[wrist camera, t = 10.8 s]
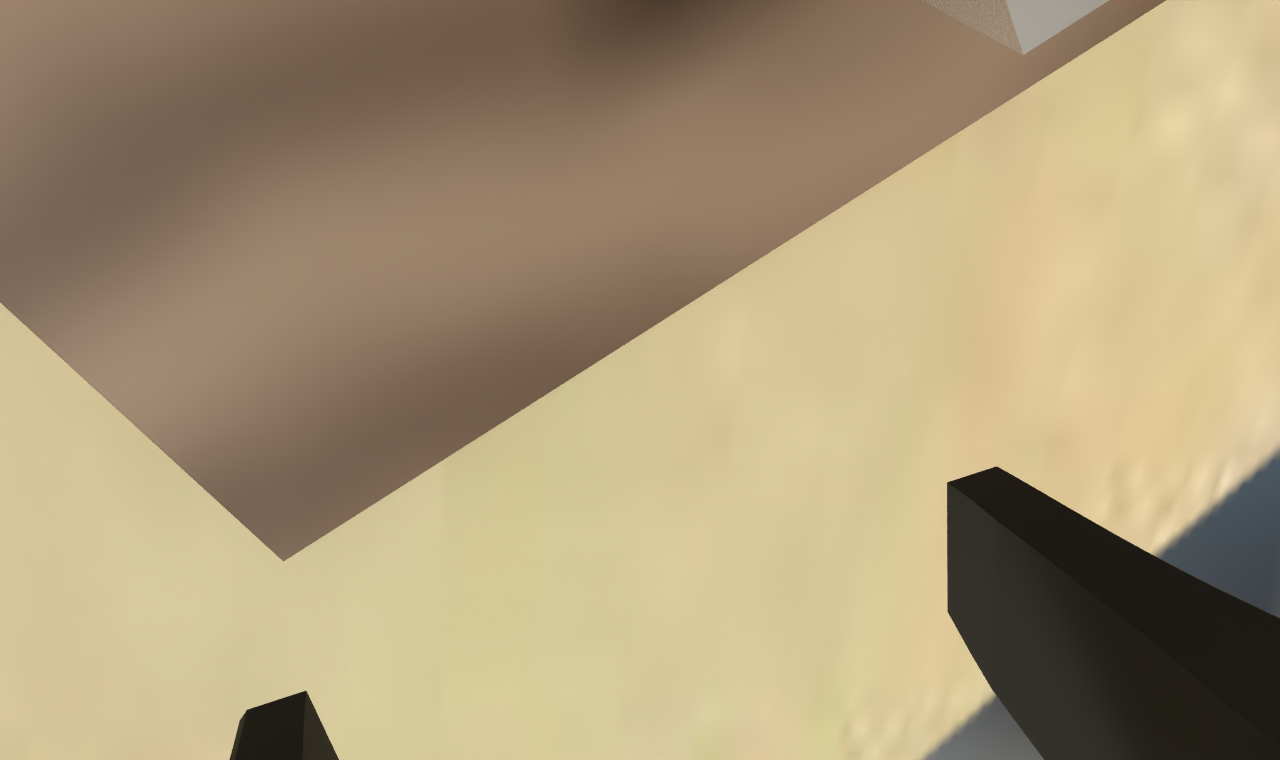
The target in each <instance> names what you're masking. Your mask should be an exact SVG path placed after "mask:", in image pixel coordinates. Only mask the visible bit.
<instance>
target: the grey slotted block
mask: <svg viewBox="0 0 1280 760" xmlns="http://www.w3.org/2000/svg"><path fill="white" fill-rule="evenodd" d="M922 1H924V2H926V3H928V4H930V5H931V6H933V7H935V8H937V9H939V10H941V11H943V12H944V13H946V14H948V15H950V16H952V17H954V18H956V19H957V20H959V21H961V22H963V23H965V24H967V25H969V26H970V27H972V28H974V29H976V30H978V31H980V32H982V33H983V34H985V35H987V36H989V37H991V38H993V39H995V40H996V41H998V42H1000V43H1002V44H1004V45H1006V46H1008V47H1009V48H1011V49H1013V50H1015V51H1017V52H1019V53H1021V54H1022V55H1024V54H1026V53H1027V52H1029V51H1031V50H1032V49H1034V48H1035V47H1037V46H1038V45H1040V44H1042V43H1043V42H1045V41H1046V40H1048V39H1049V38H1051V37H1052V36H1054V35H1056V34H1057V33H1059V32H1060V31H1062V30H1063V29H1065V28H1067V27H1068V26H1070V25H1071V24H1073V23H1074V22H1076V21H1078V20H1079V19H1081V18H1082V17H1084V16H1085V15H1087V14H1088V13H1090V12H1092V11H1093V10H1095V9H1096V8H1098V7H1099V6H1101V5H1103V4H1104V3H1106V2H1107V1H1109V0H922Z"/></svg>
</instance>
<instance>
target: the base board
mask: <svg viewBox="0 0 1280 760" xmlns="http://www.w3.org/2000/svg"><path fill="white" fill-rule="evenodd" d="M1164 1H1166V0H1109V1H1107V2H1106V3H1104V4H1103V5H1101V6H1099V7H1098V8H1096V9H1095V10H1093V11H1092V12H1090V13H1088V14H1087V15H1085V16H1084V17H1082V18H1081V19H1079V20H1078V21H1076V22H1074V23H1073V24H1071V25H1070V26H1068V27H1067V28H1065V29H1063V30H1062V31H1060V32H1059V33H1057V34H1056V35H1054V36H1052V37H1051V38H1049V39H1048V40H1046V41H1045V42H1043V43H1042V44H1040V45H1038V46H1037V47H1035V48H1034V49H1032V50H1031V51H1029V52H1027V53H1026V54H1024V55H1022V54H1021V53H1019V52H1017V51H1015V50H1013V49H1011V48H1009V47H1008V46H1006V45H1004V44H1002V43H1000V42H998V41H996V40H995V39H993V38H991V37H989V36H987V35H985V34H983V33H982V32H980V31H978V30H976V29H974V28H972V27H970V26H969V25H967V24H965V23H963V22H961V21H959V20H957V19H956V18H954V17H952V16H950V15H948V14H946V13H944V12H943V11H941V10H939V9H937V8H935V7H933V6H931V5H930V4H928V3H926V2H924V1H922V0H0V303H2V304H3V305H4V306H5V307H6V308H7V309H8V310H9V311H10V312H11V313H13V314H14V315H15V316H16V317H17V318H18V319H19V320H20V321H21V322H22V323H23V324H25V325H26V326H27V327H28V328H29V329H30V330H31V331H32V332H33V333H34V334H35V335H37V336H38V337H39V338H40V339H41V340H42V341H43V342H44V343H45V344H46V345H47V346H49V347H50V348H51V349H52V350H53V351H54V352H55V353H56V354H57V355H58V356H60V357H61V358H62V359H63V360H64V361H65V362H66V363H67V364H68V365H69V366H70V367H72V368H73V369H74V370H75V371H76V372H77V373H78V374H79V375H80V376H81V377H82V378H84V379H85V380H86V381H87V382H88V383H89V384H90V385H91V386H92V387H93V388H94V389H96V390H97V391H98V392H99V393H100V394H101V395H102V396H103V397H104V398H105V399H107V400H108V401H109V402H110V403H111V404H112V405H113V406H114V407H115V408H116V409H117V410H119V411H120V412H121V413H122V414H123V415H124V416H125V417H126V418H127V419H128V420H129V421H131V422H132V423H133V424H134V425H135V426H136V427H137V428H138V429H139V430H140V431H141V432H143V433H144V434H145V435H146V436H147V437H148V438H149V439H150V440H151V441H152V442H154V443H155V444H156V445H157V446H158V447H159V448H160V449H161V450H162V451H163V452H164V453H166V454H167V455H168V456H169V457H170V458H171V459H172V460H173V461H174V462H175V463H176V464H178V465H179V466H180V467H181V468H182V469H183V470H184V471H185V472H186V473H187V474H188V475H190V476H191V477H192V478H193V479H194V480H195V481H196V482H197V483H198V484H199V485H201V486H202V487H203V488H204V489H205V490H206V491H207V492H208V493H209V494H210V495H211V496H213V497H214V498H215V499H216V500H217V501H218V502H219V503H220V504H221V505H222V506H223V507H225V508H226V509H227V510H228V511H229V512H230V513H231V514H232V515H233V516H234V517H235V518H237V519H238V520H239V521H240V522H241V523H242V524H243V525H244V526H245V527H246V528H248V529H249V530H250V531H251V532H252V533H253V534H254V535H255V536H256V537H257V538H258V539H260V540H261V541H262V542H263V543H264V544H265V545H266V546H267V547H268V548H269V549H270V550H272V551H273V552H274V553H275V554H276V555H277V556H278V557H279V558H280V559H281V560H282V561H285V560H286V559H288V558H290V557H291V556H293V555H294V554H296V553H297V552H299V551H301V550H302V549H304V548H305V547H307V546H308V545H310V544H312V543H313V542H315V541H316V540H318V539H319V538H321V537H323V536H324V535H326V534H327V533H329V532H330V531H332V530H334V529H335V528H337V527H338V526H340V525H341V524H343V523H345V522H346V521H348V520H349V519H351V518H352V517H354V516H356V515H357V514H359V513H360V512H362V511H363V510H365V509H367V508H368V507H370V506H371V505H373V504H374V503H376V502H378V501H379V500H381V499H382V498H384V497H385V496H387V495H389V494H390V493H392V492H393V491H395V490H396V489H398V488H400V487H401V486H403V485H404V484H406V483H407V482H409V481H411V480H412V479H414V478H415V477H417V476H419V475H420V474H422V473H423V472H425V471H426V470H428V469H430V468H431V467H433V466H434V465H436V464H437V463H439V462H441V461H442V460H444V459H445V458H447V457H448V456H450V455H452V454H453V453H455V452H456V451H458V450H459V449H461V448H463V447H464V446H466V445H467V444H469V443H470V442H472V441H474V440H475V439H477V438H478V437H480V436H481V435H483V434H485V433H486V432H488V431H489V430H491V429H492V428H494V427H496V426H497V425H499V424H500V423H502V422H503V421H505V420H507V419H508V418H510V417H511V416H513V415H514V414H516V413H518V412H519V411H521V410H522V409H524V408H525V407H527V406H529V405H530V404H532V403H533V402H535V401H536V400H538V399H540V398H541V397H543V396H544V395H546V394H547V393H549V392H551V391H552V390H554V389H555V388H557V387H559V386H560V385H562V384H563V383H565V382H566V381H568V380H570V379H571V378H573V377H574V376H576V375H577V374H579V373H581V372H582V371H584V370H585V369H587V368H588V367H590V366H592V365H593V364H595V363H596V362H598V361H599V360H601V359H603V358H604V357H606V356H607V355H609V354H610V353H612V352H614V351H615V350H617V349H618V348H620V347H621V346H623V345H625V344H626V343H628V342H629V341H631V340H632V339H634V338H636V337H637V336H639V335H640V334H642V333H643V332H645V331H647V330H648V329H650V328H651V327H653V326H654V325H656V324H658V323H659V322H661V321H662V320H664V319H665V318H667V317H669V316H670V315H672V314H673V313H675V312H676V311H678V310H680V309H681V308H683V307H684V306H686V305H688V304H689V303H691V302H692V301H694V300H695V299H697V298H699V297H700V296H702V295H703V294H705V293H706V292H708V291H710V290H711V289H713V288H714V287H716V286H717V285H719V284H721V283H722V282H724V281H725V280H727V279H728V278H730V277H732V276H733V275H735V274H736V273H738V272H739V271H741V270H743V269H744V268H746V267H747V266H749V265H750V264H752V263H754V262H755V261H757V260H758V259H760V258H761V257H763V256H765V255H766V254H768V253H769V252H771V251H772V250H774V249H776V248H777V247H779V246H780V245H782V244H783V243H785V242H787V241H788V240H790V239H791V238H793V237H794V236H796V235H798V234H799V233H801V232H802V231H804V230H805V229H807V228H809V227H810V226H812V225H813V224H815V223H816V222H818V221H820V220H821V219H823V218H824V217H826V216H828V215H829V214H831V213H832V212H834V211H835V210H837V209H839V208H840V207H842V206H843V205H845V204H846V203H848V202H850V201H851V200H853V199H854V198H856V197H857V196H859V195H861V194H862V193H864V192H865V191H867V190H868V189H870V188H872V187H873V186H875V185H876V184H878V183H879V182H881V181H883V180H884V179H886V178H887V177H889V176H890V175H892V174H894V173H895V172H897V171H898V170H900V169H901V168H903V167H905V166H906V165H908V164H909V163H911V162H912V161H914V160H916V159H917V158H919V157H920V156H922V155H923V154H925V153H927V152H928V151H930V150H931V149H933V148H934V147H936V146H938V145H939V144H941V143H942V142H944V141H945V140H947V139H949V138H950V137H952V136H953V135H955V134H956V133H958V132H960V131H961V130H963V129H964V128H966V127H968V126H969V125H971V124H972V123H974V122H975V121H977V120H979V119H980V118H982V117H983V116H985V115H986V114H988V113H990V112H991V111H993V110H994V109H996V108H997V107H999V106H1001V105H1002V104H1004V103H1005V102H1007V101H1008V100H1010V99H1012V98H1013V97H1015V96H1016V95H1018V94H1019V93H1021V92H1023V91H1024V90H1026V89H1027V88H1029V87H1030V86H1032V85H1034V84H1035V83H1037V82H1038V81H1040V80H1041V79H1043V78H1045V77H1046V76H1048V75H1049V74H1051V73H1052V72H1054V71H1056V70H1057V69H1059V68H1060V67H1062V66H1063V65H1065V64H1067V63H1068V62H1070V61H1071V60H1073V59H1074V58H1076V57H1078V56H1079V55H1081V54H1082V53H1084V52H1085V51H1087V50H1089V49H1090V48H1092V47H1093V46H1095V45H1096V44H1098V43H1100V42H1101V41H1103V40H1104V39H1106V38H1108V37H1109V36H1111V35H1112V34H1114V33H1115V32H1117V31H1119V30H1120V29H1122V28H1123V27H1125V26H1126V25H1128V24H1130V23H1131V22H1133V21H1134V20H1136V19H1137V18H1139V17H1141V16H1142V15H1144V14H1145V13H1147V12H1148V11H1150V10H1152V9H1153V8H1155V7H1156V6H1158V5H1159V4H1161V3H1163V2H1164Z"/></svg>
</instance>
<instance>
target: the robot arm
mask: <svg viewBox="0 0 1280 760" xmlns="http://www.w3.org/2000/svg"><path fill="white" fill-rule="evenodd" d="M947 570H948V613H949V615H950V617H951V618H952V620H953V622H954V624H955V626H956V627H957V629H958V631H959V633H960V635H961V636H962V638H963V640H964V642H965V644H966V645H967V647H968V649H969V651H970V653H971V654H972V656H973V658H974V660H975V661H976V663H977V665H978V666H979V668H980V670H981V671H982V673H983V675H984V676H985V678H986V680H987V682H988V683H989V685H990V687H991V688H992V690H993V691H994V693H995V694H996V695H997V697H998V698H999V699H1000V701H1001V702H1002V703H1003V705H1004V706H1005V708H1006V709H1007V710H1008V712H1009V713H1010V714H1011V715H1012V717H1013V718H1014V720H1015V721H1016V722H1017V724H1018V725H1019V726H1020V728H1021V729H1022V730H1023V732H1024V733H1025V734H1026V736H1027V737H1028V738H1029V740H1030V741H1031V743H1032V744H1033V745H1034V746H1035V748H1036V749H1037V751H1038V752H1039V753H1040V754H1041V756H1042V757H1043V758H1044V760H1280V618H1278V617H1276V616H1273V615H1271V614H1269V613H1267V612H1265V611H1263V610H1261V609H1259V608H1257V607H1254V606H1252V605H1250V604H1248V603H1246V602H1244V601H1242V600H1240V599H1238V598H1236V597H1233V596H1231V595H1229V594H1227V593H1225V592H1223V591H1221V590H1219V589H1217V588H1215V587H1213V586H1211V585H1209V584H1207V583H1205V582H1203V581H1201V580H1199V579H1197V578H1195V577H1193V576H1191V575H1189V574H1187V573H1185V572H1183V571H1181V570H1179V569H1178V568H1176V567H1174V566H1172V565H1170V564H1168V563H1166V562H1164V561H1163V560H1161V559H1159V558H1157V557H1155V556H1153V555H1152V554H1150V553H1148V552H1146V551H1144V550H1142V549H1140V548H1139V547H1137V546H1135V545H1133V544H1131V543H1130V542H1128V541H1126V540H1124V539H1122V538H1121V537H1119V536H1117V535H1115V534H1113V533H1112V532H1110V531H1108V530H1106V529H1105V528H1103V527H1101V526H1099V525H1098V524H1096V523H1094V522H1092V521H1091V520H1089V519H1087V518H1085V517H1084V516H1082V515H1080V514H1078V513H1077V512H1075V511H1073V510H1071V509H1070V508H1068V507H1066V506H1065V505H1063V504H1061V503H1059V502H1058V501H1056V500H1054V499H1053V498H1051V497H1049V496H1047V495H1046V494H1044V493H1042V492H1041V491H1039V490H1037V489H1035V488H1034V487H1032V486H1030V485H1029V484H1027V483H1025V482H1023V481H1022V480H1020V479H1018V478H1016V477H1015V476H1013V475H1011V474H1009V473H1008V472H1006V471H1004V470H1002V469H1001V468H999V467H993V468H990V469H987V470H984V471H981V472H978V473H975V474H972V475H969V476H966V477H963V478H960V479H957V480H953V481H950V482H947ZM230 760H339V759H338V757H337V755H336V753H335V750H334V748H333V746H332V744H331V742H330V740H329V738H328V736H327V734H326V731H325V729H324V727H323V725H322V723H321V721H320V719H319V717H318V714H317V712H316V710H315V708H314V706H313V704H312V702H311V700H310V697H309V695H308V693H307V691H304V692H301V693H298V694H294V695H291V696H288V697H285V698H282V699H279V700H276V701H273V702H270V703H267V704H264V705H261V706H258V707H254V708H251V709H248V710H247V711H246V712H245V714H244V715H243V717H242V718H241V720H240V722H239V726H238V730H237V734H236V738H235V742H234V746H233V749H232V753H231V757H230Z"/></svg>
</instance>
